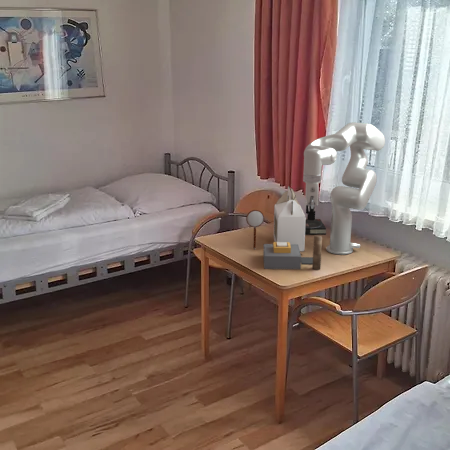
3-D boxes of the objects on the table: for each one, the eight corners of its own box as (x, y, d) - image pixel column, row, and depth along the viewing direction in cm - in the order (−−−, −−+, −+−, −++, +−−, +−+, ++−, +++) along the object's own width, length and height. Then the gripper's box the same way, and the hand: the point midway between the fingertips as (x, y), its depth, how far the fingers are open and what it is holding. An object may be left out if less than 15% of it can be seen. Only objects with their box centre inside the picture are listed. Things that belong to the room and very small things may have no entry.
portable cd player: (294, 236, 287) (294, 228, 286) (290, 226, 303) (290, 219, 302) (325, 235, 287) (326, 228, 286) (319, 226, 304) (320, 219, 302)
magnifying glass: (246, 250, 264) (246, 210, 258) (245, 249, 266) (246, 209, 260) (263, 249, 265) (264, 210, 259) (262, 248, 267) (263, 209, 261)
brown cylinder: (319, 267, 243) (321, 235, 239) (320, 270, 240) (322, 237, 236) (311, 267, 243) (313, 235, 239) (312, 270, 240) (314, 237, 236)
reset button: (286, 254, 250) (286, 242, 248) (286, 258, 246) (287, 245, 244) (276, 254, 250) (276, 242, 249) (276, 258, 246) (277, 245, 244)
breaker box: (297, 256, 256) (298, 239, 254) (300, 269, 241) (301, 251, 238) (263, 256, 257) (263, 238, 254) (264, 268, 242) (264, 250, 239)
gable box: (304, 251, 263) (306, 195, 255) (276, 251, 263) (278, 195, 255) (298, 236, 284) (301, 184, 276) (273, 236, 284) (274, 184, 276)
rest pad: (317, 258, 254) (317, 257, 254) (319, 264, 246) (319, 263, 246) (300, 258, 254) (300, 257, 254) (301, 264, 247) (301, 263, 247)
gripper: (322, 182, 224) (320, 222, 229) (319, 174, 240) (317, 211, 245) (304, 182, 224) (302, 222, 229) (302, 173, 241) (300, 211, 246)
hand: (310, 216), depth 237 cm, fingers open, 9 cm apart
